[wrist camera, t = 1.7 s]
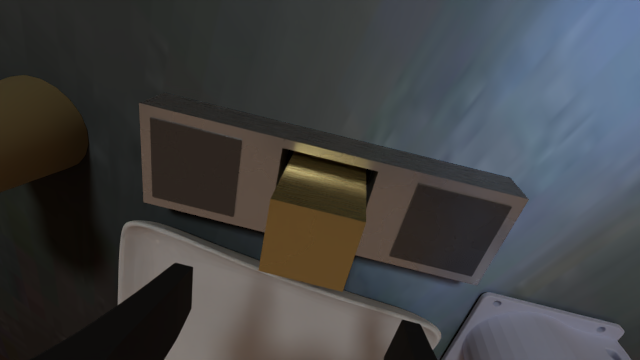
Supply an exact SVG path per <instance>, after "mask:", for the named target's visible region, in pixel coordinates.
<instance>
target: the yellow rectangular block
mask: <svg viewBox="0 0 640 360" xmlns="http://www.w3.org/2000/svg"><path fill="white" fill-rule="evenodd" d="M365 225H366V168H362V167H358V166H354V165H350V164H345V163H341V162H337V161H333V160H329V159H325V158H321V157H317V156H313V155H309V154H305V153H301V152H297V151H294V153H293V155H292V157H291V159H290V161H289V163H288V165H287V167H286V169H285V171H284V173H283V175H282V177H281V179H280V181H279V183H278V185H277V187H276V189H275V191H274V193H273V195H272V197H271V198H270V204H269V210H268V216H267V222H266V228H265V234H264V240H263V246H262V252H261V258H260V265H259V271H261V272H265V273H269V274H273V275H277V276H281V277H285V278H289V279H293V280H297V281H301V282H305V283H309V284H313V285H317V286H321V287H325V288H329V289H333V290H337V291H341V292H343V289H344V286H345V283H346V280H347V277H348V274H349V272H350V269H351V266H352V263H353V260H354V257H355V254H356V251H357V248H358V245H359V242H360V239H361V236H362V233H363V230H364V227H365Z"/></svg>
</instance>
